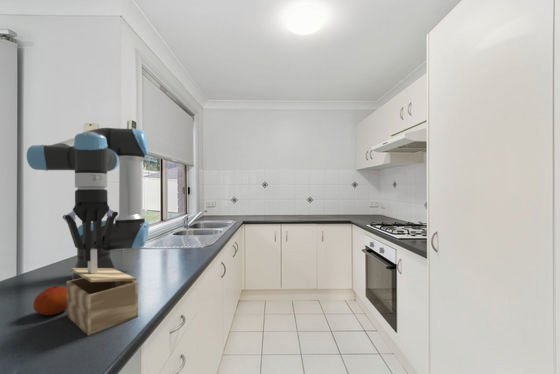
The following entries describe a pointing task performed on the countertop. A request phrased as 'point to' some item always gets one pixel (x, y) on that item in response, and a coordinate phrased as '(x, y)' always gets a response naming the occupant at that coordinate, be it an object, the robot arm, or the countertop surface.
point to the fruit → (51, 301)
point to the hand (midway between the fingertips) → (92, 271)
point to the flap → (103, 275)
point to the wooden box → (101, 303)
